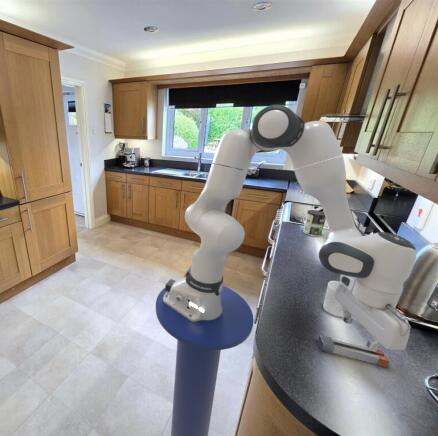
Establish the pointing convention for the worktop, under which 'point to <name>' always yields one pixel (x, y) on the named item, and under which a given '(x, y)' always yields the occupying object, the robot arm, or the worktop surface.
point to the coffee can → (314, 223)
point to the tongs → (352, 351)
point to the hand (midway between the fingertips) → (358, 334)
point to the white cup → (332, 300)
